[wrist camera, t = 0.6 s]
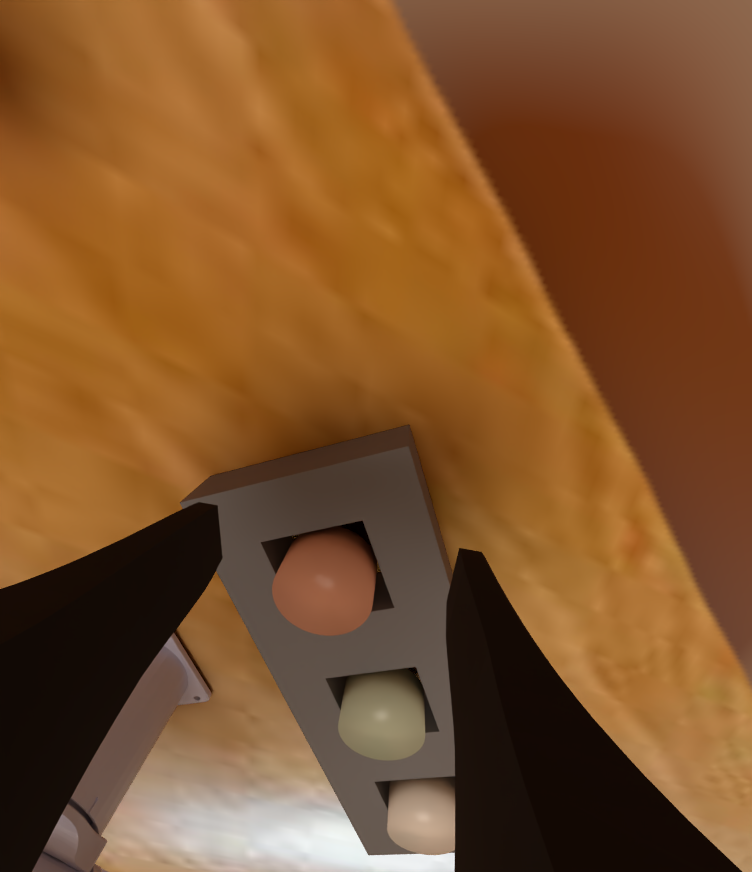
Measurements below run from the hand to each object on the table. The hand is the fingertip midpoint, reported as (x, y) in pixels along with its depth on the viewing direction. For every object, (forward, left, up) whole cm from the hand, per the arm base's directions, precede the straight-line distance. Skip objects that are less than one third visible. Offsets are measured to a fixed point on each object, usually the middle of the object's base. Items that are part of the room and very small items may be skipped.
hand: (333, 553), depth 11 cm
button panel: (-4, -16, -10) cm, 19 cm away
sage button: (-4, -16, -7) cm, 18 cm away
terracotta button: (-4, -6, -7) cm, 10 cm away
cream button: (-4, -26, -7) cm, 27 cm away
